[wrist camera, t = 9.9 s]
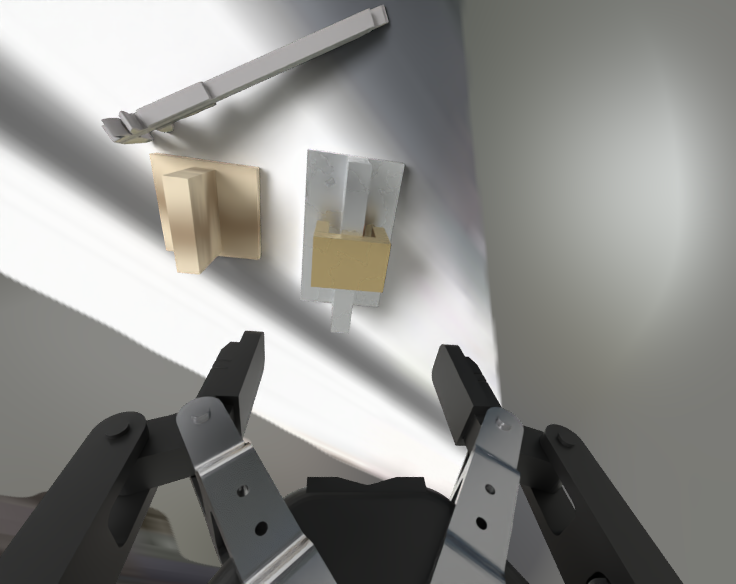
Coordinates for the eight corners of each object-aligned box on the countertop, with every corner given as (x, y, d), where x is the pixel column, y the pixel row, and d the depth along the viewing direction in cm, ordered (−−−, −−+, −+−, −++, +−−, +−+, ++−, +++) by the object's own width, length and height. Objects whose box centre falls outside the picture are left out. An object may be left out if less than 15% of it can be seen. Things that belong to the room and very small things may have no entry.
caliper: (151, 143, 24) (95, 148, 19) (141, 129, 24) (81, 129, 18) (388, 24, 22) (404, -11, 16) (383, 5, 21) (397, -38, 16)
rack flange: (308, 148, 25) (300, 154, 20) (402, 162, 26) (418, 171, 21) (301, 295, 32) (293, 329, 26) (377, 302, 33) (384, 335, 27)
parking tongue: (156, 152, 24) (105, 159, 19) (259, 167, 25) (238, 177, 20) (171, 246, 28) (132, 274, 23) (261, 255, 29) (243, 284, 24)
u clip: (317, 220, 25) (313, 236, 21) (384, 227, 26) (391, 244, 22) (314, 264, 27) (310, 286, 23) (377, 270, 28) (382, 292, 24)
